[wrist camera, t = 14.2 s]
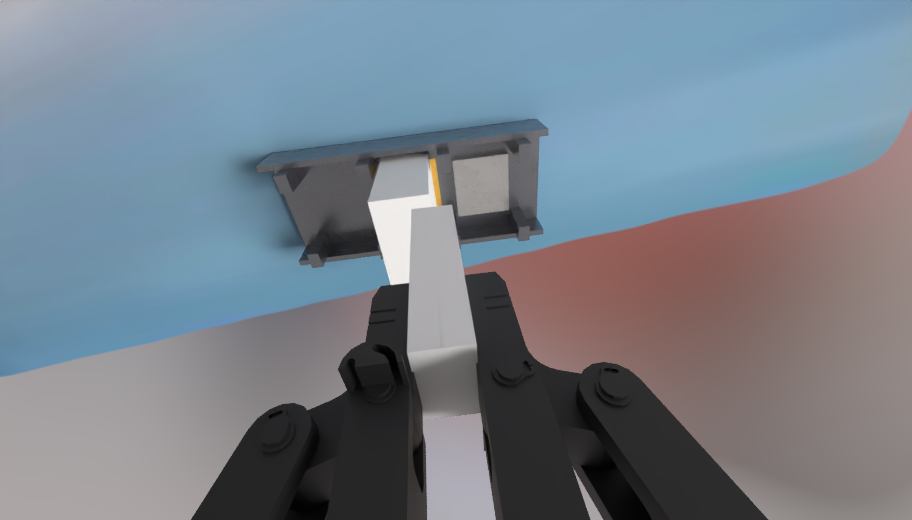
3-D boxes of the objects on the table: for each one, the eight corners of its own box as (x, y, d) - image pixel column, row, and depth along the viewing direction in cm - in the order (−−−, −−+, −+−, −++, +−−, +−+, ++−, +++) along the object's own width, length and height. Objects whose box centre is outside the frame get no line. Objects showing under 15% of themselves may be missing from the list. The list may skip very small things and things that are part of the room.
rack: (312, 250, 37) (298, 279, 33) (271, 153, 31) (247, 173, 27) (533, 222, 37) (547, 247, 33) (536, 118, 31) (554, 134, 27)
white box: (400, 230, 35) (393, 294, 27) (382, 153, 30) (367, 202, 22) (439, 225, 35) (444, 288, 27) (427, 147, 30) (428, 194, 22)
